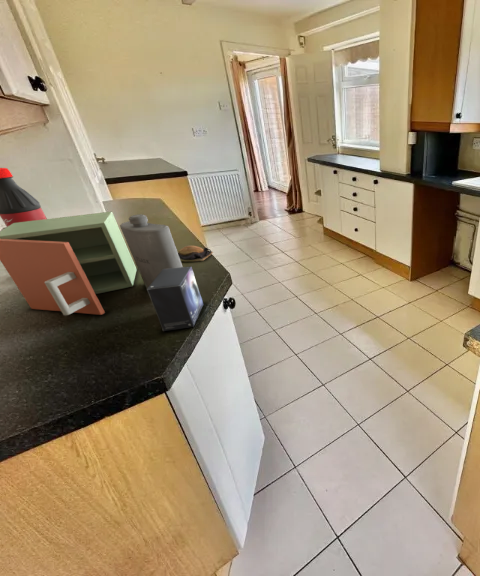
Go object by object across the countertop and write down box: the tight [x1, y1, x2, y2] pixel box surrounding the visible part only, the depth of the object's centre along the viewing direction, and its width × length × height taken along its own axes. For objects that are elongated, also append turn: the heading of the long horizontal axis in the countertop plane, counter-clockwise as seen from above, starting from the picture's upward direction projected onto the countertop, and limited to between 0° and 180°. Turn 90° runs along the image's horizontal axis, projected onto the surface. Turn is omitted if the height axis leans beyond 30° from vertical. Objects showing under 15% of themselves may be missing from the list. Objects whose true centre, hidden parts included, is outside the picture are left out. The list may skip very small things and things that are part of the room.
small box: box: [146, 266, 204, 332], centre depth 70 cm, size 11×6×10 cm, turn 17°
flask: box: [119, 213, 184, 289], centre depth 81 cm, size 15×6×20 cm, turn 64°
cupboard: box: [0, 210, 138, 295], centre depth 83 cm, size 13×20×18 cm, turn 121°
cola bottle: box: [0, 167, 48, 228], centre depth 88 cm, size 8×8×30 cm
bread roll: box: [177, 245, 214, 263], centre depth 104 cm, size 11×8×4 cm
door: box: [0, 239, 106, 316], centre depth 69 cm, size 6×20×18 cm, turn 81°
